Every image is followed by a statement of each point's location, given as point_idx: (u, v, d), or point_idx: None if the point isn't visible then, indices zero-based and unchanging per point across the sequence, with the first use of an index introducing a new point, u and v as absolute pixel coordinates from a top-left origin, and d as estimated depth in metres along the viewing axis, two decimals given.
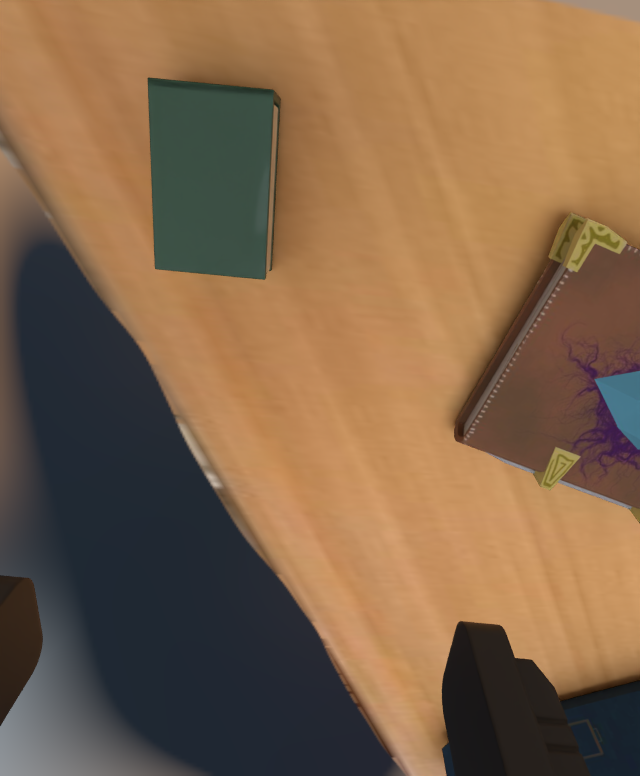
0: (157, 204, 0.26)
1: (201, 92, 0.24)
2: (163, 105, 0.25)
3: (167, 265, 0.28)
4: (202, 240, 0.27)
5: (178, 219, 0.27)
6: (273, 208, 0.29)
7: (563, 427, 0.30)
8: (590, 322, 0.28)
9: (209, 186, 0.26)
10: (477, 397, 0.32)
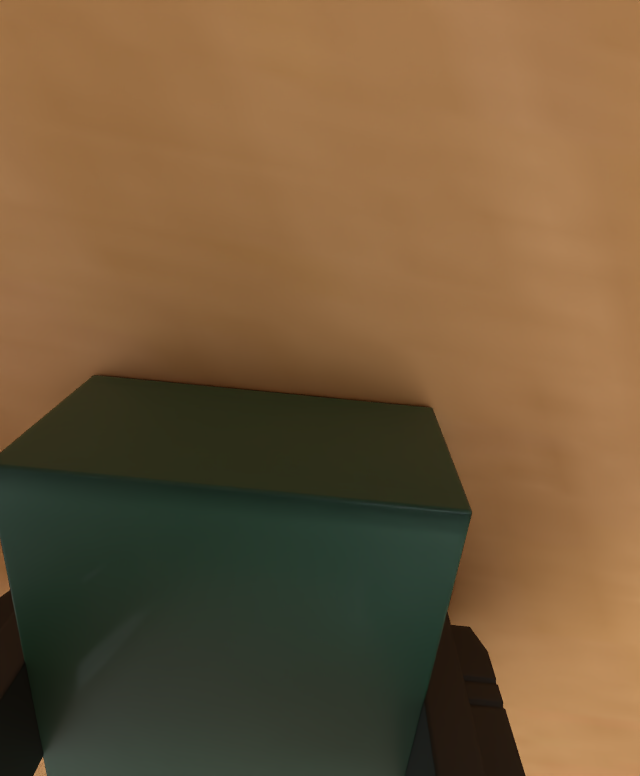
0: (58, 758, 0.08)
1: (193, 511, 0.06)
2: (53, 542, 0.07)
3: None
4: None
5: None
6: None
7: None
8: None
9: (220, 730, 0.08)
10: None
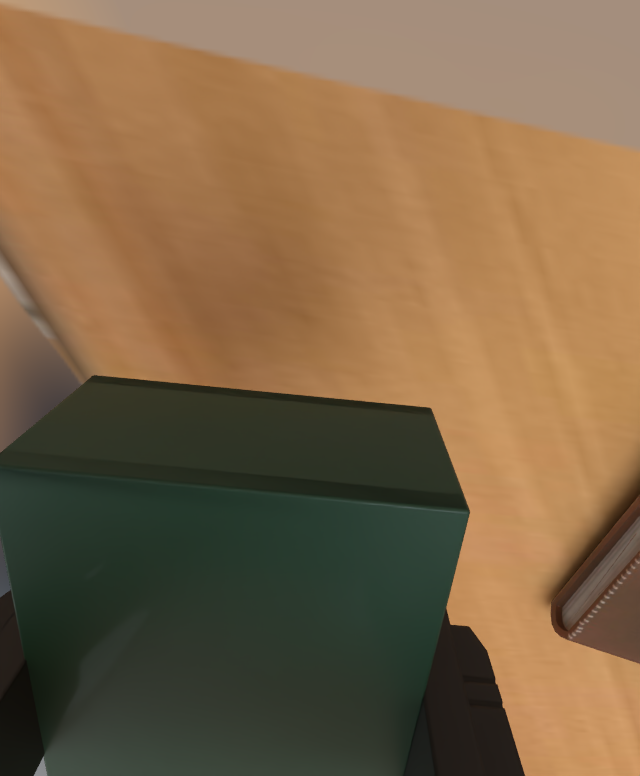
0: (58, 756, 0.09)
1: (192, 511, 0.06)
2: (54, 541, 0.07)
3: None
4: None
5: None
6: None
7: None
8: None
9: (219, 728, 0.08)
10: (580, 581, 0.28)
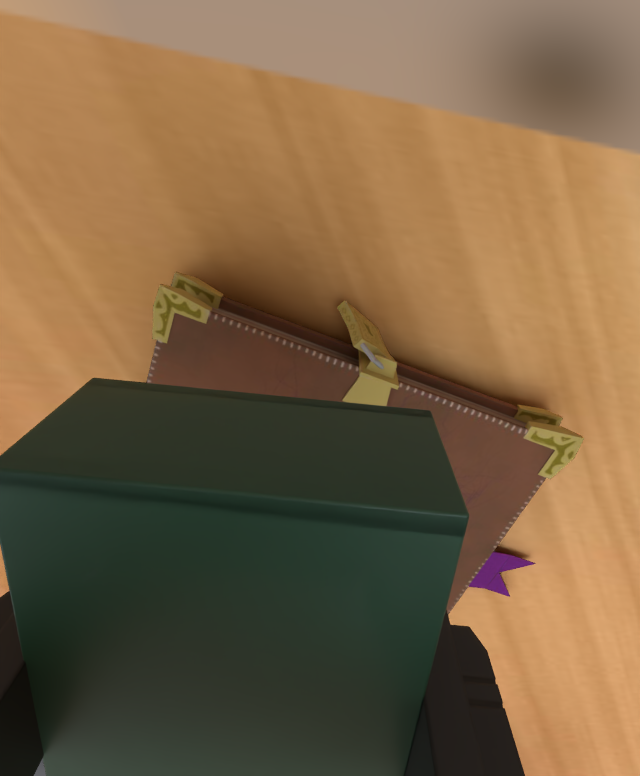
0: (57, 759, 0.09)
1: (192, 515, 0.06)
2: (53, 544, 0.07)
3: None
4: None
5: None
6: None
7: None
8: None
9: (219, 732, 0.08)
10: None
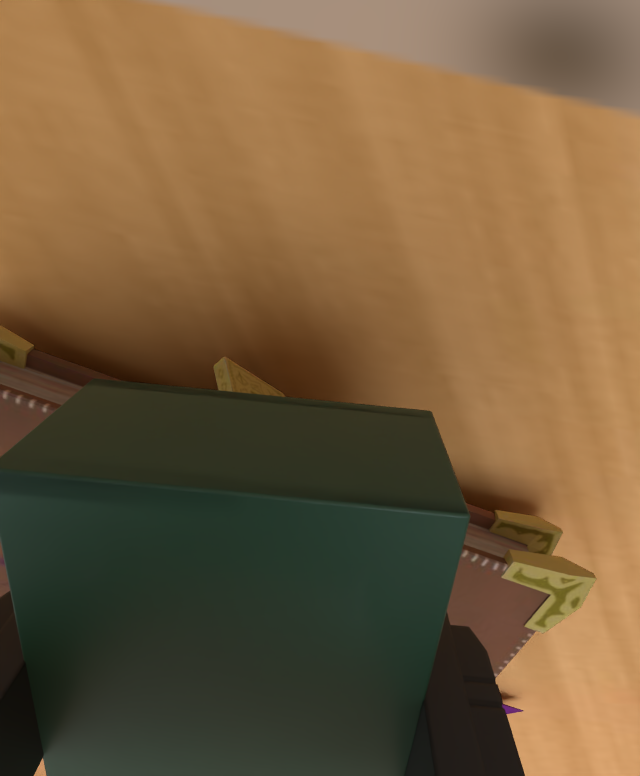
0: (58, 760, 0.09)
1: (193, 516, 0.06)
2: (53, 545, 0.07)
3: None
4: None
5: None
6: None
7: None
8: None
9: (218, 732, 0.08)
10: None
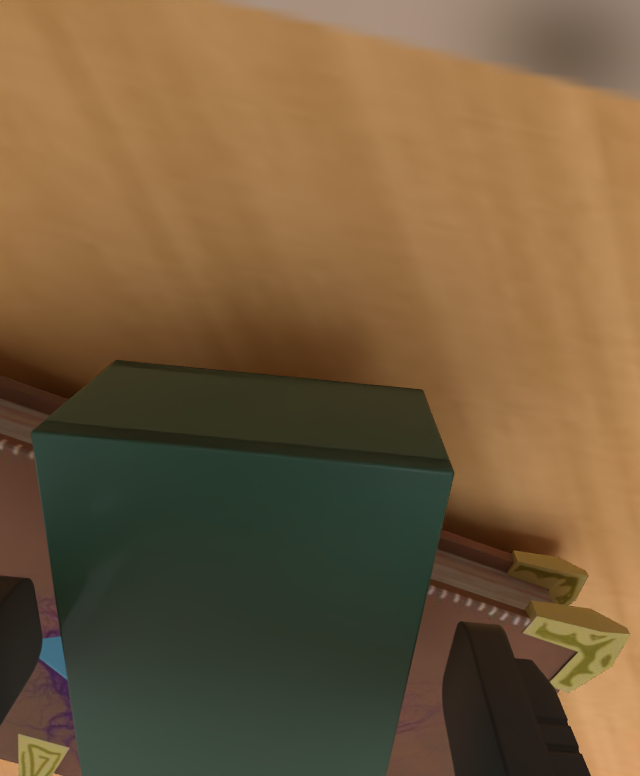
0: (84, 705, 0.09)
1: (211, 473, 0.07)
2: (87, 501, 0.08)
3: None
4: (210, 772, 0.10)
5: (144, 734, 0.10)
6: None
7: (12, 708, 0.16)
8: None
9: (231, 677, 0.09)
10: None
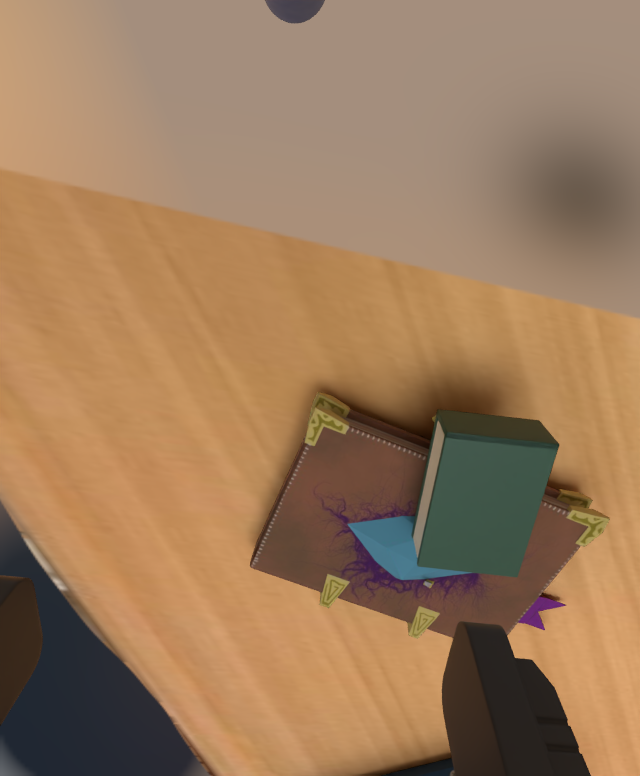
0: (432, 520, 0.29)
1: (493, 444, 0.27)
2: (456, 451, 0.28)
3: (430, 564, 0.30)
4: (467, 547, 0.30)
5: (449, 532, 0.29)
6: None
7: (330, 559, 0.36)
8: (334, 482, 0.33)
9: (483, 509, 0.29)
10: (268, 526, 0.38)
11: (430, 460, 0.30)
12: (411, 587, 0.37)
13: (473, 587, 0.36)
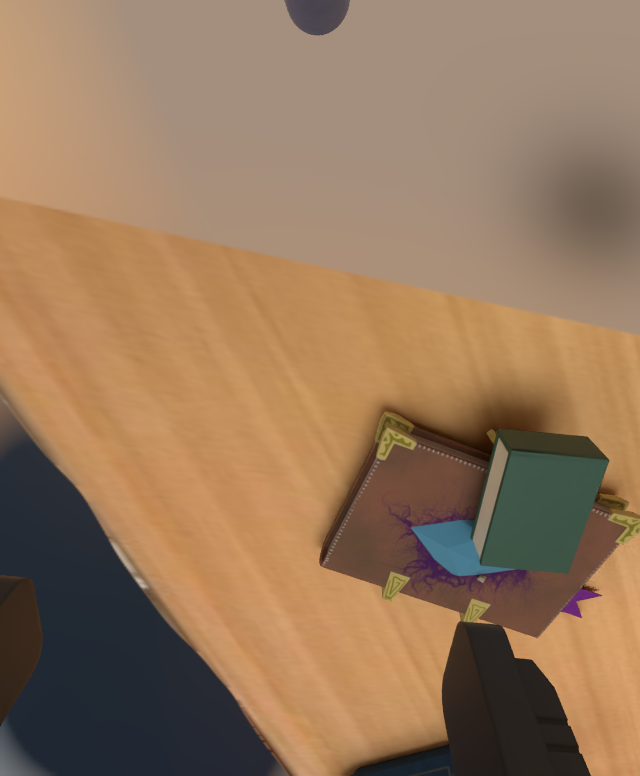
0: (495, 526, 0.33)
1: (551, 460, 0.31)
2: (519, 467, 0.32)
3: (491, 563, 0.35)
4: (525, 549, 0.34)
5: (509, 535, 0.34)
6: None
7: (394, 558, 0.40)
8: (401, 491, 0.38)
9: (540, 516, 0.33)
10: (335, 529, 0.42)
11: (491, 472, 0.34)
12: (466, 581, 0.41)
13: (521, 581, 0.41)
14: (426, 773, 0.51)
